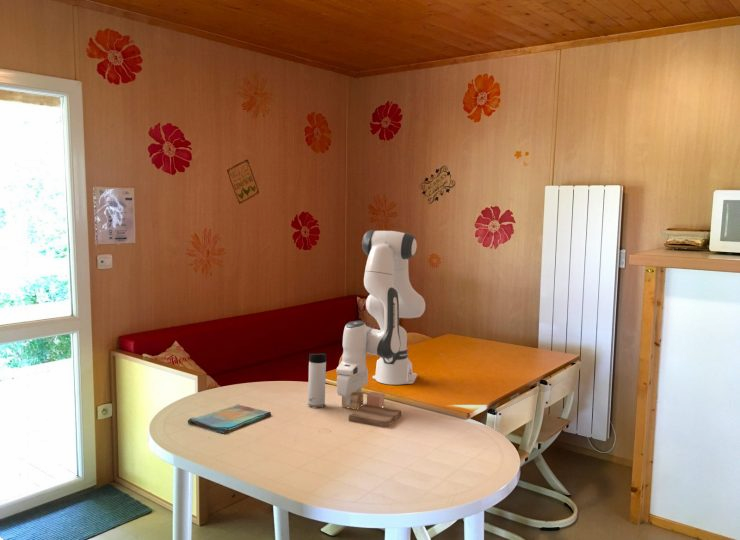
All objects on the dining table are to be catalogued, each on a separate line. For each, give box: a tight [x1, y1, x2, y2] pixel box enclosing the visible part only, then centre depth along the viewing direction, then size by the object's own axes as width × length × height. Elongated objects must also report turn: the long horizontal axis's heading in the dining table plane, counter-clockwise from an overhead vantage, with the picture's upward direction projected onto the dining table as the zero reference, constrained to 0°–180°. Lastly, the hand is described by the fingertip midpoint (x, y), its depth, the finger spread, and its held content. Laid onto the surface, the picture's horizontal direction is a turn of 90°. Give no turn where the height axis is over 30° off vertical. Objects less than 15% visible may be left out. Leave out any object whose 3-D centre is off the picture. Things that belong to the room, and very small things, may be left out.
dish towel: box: [187, 403, 272, 435], centre depth 202 cm, size 17×23×2 cm
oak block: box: [341, 391, 364, 410], centre depth 221 cm, size 6×6×5 cm
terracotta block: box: [366, 391, 386, 407], centre depth 221 cm, size 5×5×5 cm
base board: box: [348, 404, 402, 428], centre depth 208 cm, size 14×14×2 cm
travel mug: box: [307, 352, 327, 408], centre depth 220 cm, size 6×7×20 cm
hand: (352, 401), depth 221 cm, fingers closed on oak block, 6 cm apart
